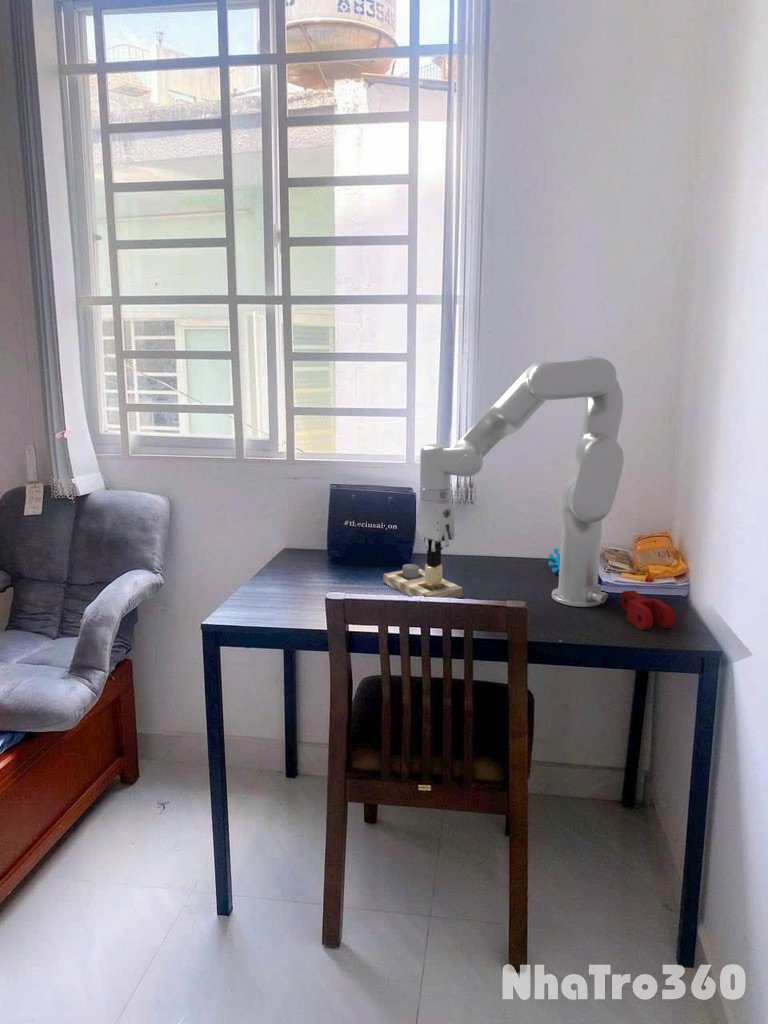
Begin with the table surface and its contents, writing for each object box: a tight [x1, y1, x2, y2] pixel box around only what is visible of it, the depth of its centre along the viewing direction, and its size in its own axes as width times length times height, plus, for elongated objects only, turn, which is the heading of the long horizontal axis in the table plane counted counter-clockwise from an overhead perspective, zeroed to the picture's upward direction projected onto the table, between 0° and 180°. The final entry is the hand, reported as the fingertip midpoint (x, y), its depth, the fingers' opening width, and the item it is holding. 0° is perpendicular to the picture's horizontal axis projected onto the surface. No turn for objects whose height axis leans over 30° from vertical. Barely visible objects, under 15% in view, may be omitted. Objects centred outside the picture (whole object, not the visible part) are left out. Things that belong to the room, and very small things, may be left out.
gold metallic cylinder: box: [424, 563, 443, 591], centre depth 188 cm, size 4×4×8 cm
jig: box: [382, 563, 463, 599], centre depth 192 cm, size 20×11×5 cm, turn 33°
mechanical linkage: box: [619, 590, 676, 631], centre depth 173 cm, size 16×7×5 cm, turn 10°
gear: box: [548, 547, 560, 575], centre depth 207 cm, size 11×6×10 cm
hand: (433, 564), depth 187 cm, fingers closed
